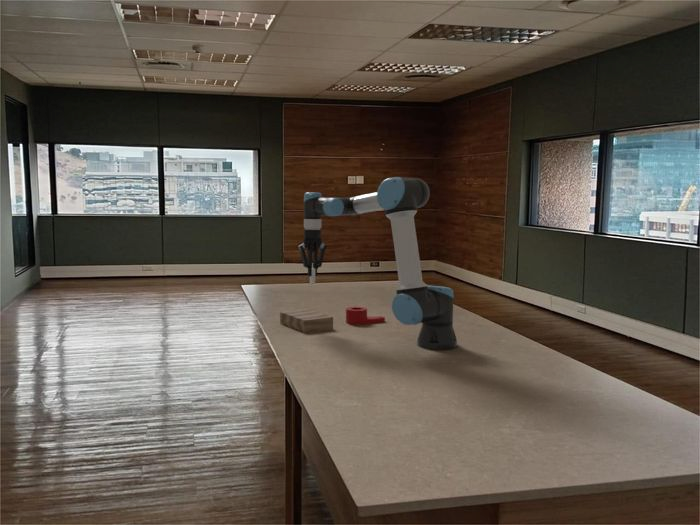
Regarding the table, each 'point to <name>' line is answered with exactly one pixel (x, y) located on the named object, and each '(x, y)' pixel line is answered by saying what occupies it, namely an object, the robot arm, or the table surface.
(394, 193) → the robot arm
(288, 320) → the walnut base brick
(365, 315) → the lever
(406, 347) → the table surface
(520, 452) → the table surface
